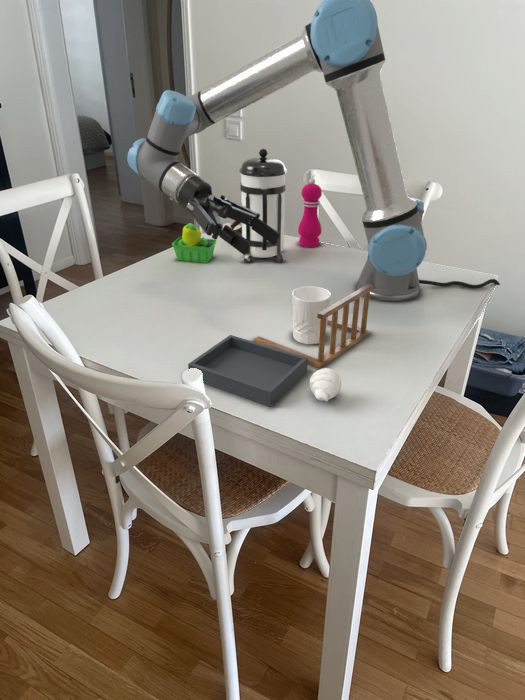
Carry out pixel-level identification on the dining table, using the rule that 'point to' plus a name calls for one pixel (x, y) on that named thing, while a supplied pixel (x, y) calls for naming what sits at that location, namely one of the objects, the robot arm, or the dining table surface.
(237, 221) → the pottery mug
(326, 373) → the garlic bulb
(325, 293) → the white cup
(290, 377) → the dark grey tray
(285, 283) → the dining table surface
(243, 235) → the coffee press
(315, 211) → the pepper mill
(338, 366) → the dining table surface
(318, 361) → the drying rack
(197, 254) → the fruit basket
